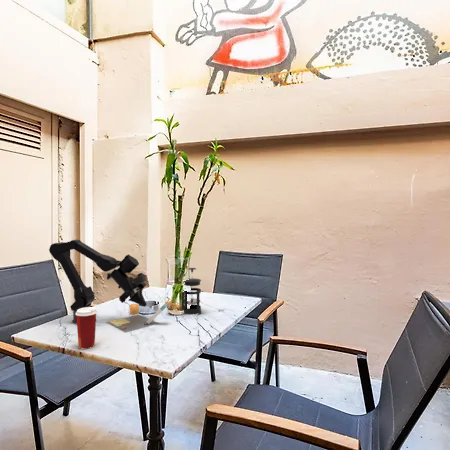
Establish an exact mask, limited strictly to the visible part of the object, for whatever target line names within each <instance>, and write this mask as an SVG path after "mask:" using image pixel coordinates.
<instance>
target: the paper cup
mask: <svg viewBox="0 0 450 450" xmlns="http://www.w3.org/2000/svg"><path fill="white" fill-rule="evenodd" d="M97 313H98V310H97V308H96V307H94V306H93V307H92V306H89V307H85V308H80V309H78V310H77V312H76V314H75V315H76V317H77V324H76V329H77V330H76V331H77V340H78V341H77V342H78V344H77V345H78V348H79V347H80V348H79V349H81V348H87V349H91V348H93V347H94V346H95V343H96V327H97V326H96V325H97ZM90 347H91V348H90Z"/></svg>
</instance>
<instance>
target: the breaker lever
mask: <svg viewBox="0 0 450 450" xmlns="http://www.w3.org/2000/svg"><path fill="white" fill-rule="evenodd" d="M168 306H169V305H168V304H167V303H164V304H163V305H161V307H159V309H158V310H156V312H154V313H153V315H152V316H151V317H149V318H148V319H149V320H148V321H146V322H147V323H148V324H149V323H150V322H151V321H152V320H153V321H154V320H155V319H156V318H157V316H159V315H160V314H161V313H162V312H163V311H164V310H165V309H167V307H168Z"/></svg>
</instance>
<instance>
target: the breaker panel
mask: <svg viewBox="0 0 450 450" xmlns="http://www.w3.org/2000/svg"><path fill="white" fill-rule="evenodd" d="M149 319H150V318H148V317H146V316H143V315H141V314H136V315H132V316H127V317H123V318H118V319H115V320H111V321H105V323H106V324H108V325H110V326H111V327H113V328H116V329H117V330H119V331H121V332H123V333H129V332H133V331H136V330H140V329H144V328H148V327H152V326H154V325H155V326H156V325H159V324H160V322H157V321H156V320H154V319H153V320H152V321H151V322H150V323H149V324H148V323H147V322H146V321H148V320H149Z"/></svg>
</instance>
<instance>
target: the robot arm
mask: <svg viewBox="0 0 450 450" xmlns="http://www.w3.org/2000/svg"><path fill="white" fill-rule="evenodd" d="M71 250H75V251H76V252H78V253H79V254H81V255H83V256H84V257H86V258H88V259H89V260H91V261H93V263H95V265H96V266H97V267H98V268H99V269H100V270H101V271H103V272H105V273H106V272H108V273H107V274H106V275H107V276H106V280H111V279H112V280H114V282H115V283H116V284H117V285H118V286H117V288H118V289H122V291H123V293H122V294H121V295H119V297H118V298H119V299H118V300H119V301H120V303H121V304H123V303H125V302H126V300H127V299H128V298H129V299H128V302H132V303H134V304H139V306H141V307H142V306H143V307H146V306H147V301H146V300H145V298H144V295H143V290H144V288H145V287H147V284H146V281H147V279H146V277H147V275H146V274H145V273H143V272H141V273H137V276H135V277H133V276H128V274H131V273H132V272H133V271H134V270H135V269H136V268H137V267H138V266H139V265H140V263H139V261H138V259H136V257H133V256H132V255H131V254H126V255H125V256H124V257H123V259H122V260H117V259H116V258H115V257H113V256H110V255H107V254H104V253H101V252H99V251H98V250H96V249H94V248H93V247H91V246H89V245H87V244H86V243H84V242H82V240H80V239H73V240H70V241H67V242H66V241H63V242H62V241H60V242H54V243H52V244H51V245H50V246H49V248H48V251H49V254H50V255H51V256H52V258H53V259H54V260H55V261H57V262H58V263H59V264H60V266H61V267H62V270H63V271H64V273H65V275H66V278H67V279H68V281H69V283H70V285H71V287H72V289H73V298H74V302H72V304H71V305H70V306H69V308H70V310H71V311H72V314H73V315H72V316H73V318H72V320H71V322H73V324H75V325H77V317H76V315H75V314H76V312H77V310H78V309H80V308H85V307H92V304H93V302H94V301H95V297H96V296H95V293H96V292H94V291H93V287H92V286H86V285H85V283H84V282H83V279H82V278H81V276H80V274H79V272H78V270H77V268H76V266H75V265H74V263H73V260H72V259H71ZM110 271H111V272H110Z"/></svg>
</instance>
